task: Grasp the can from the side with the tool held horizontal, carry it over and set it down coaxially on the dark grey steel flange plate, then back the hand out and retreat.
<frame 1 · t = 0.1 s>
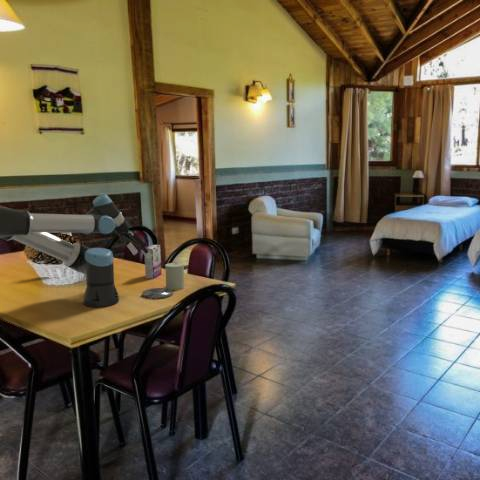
hand: (142, 255, 232), 15 cm above the table, tool tilted 35°, fingers open, 13 cm apart
can: (175, 288, 230), on the table
champagne flute: (69, 274, 258), on the table
flange plate: (157, 294, 218), on the table
candy bar box: (153, 276, 253), on the table
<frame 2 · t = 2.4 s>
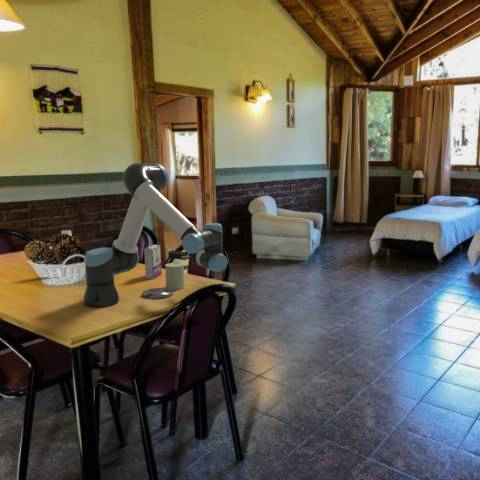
hand: (181, 250, 219), 20 cm above the table, tool horizontal, fingers open, 13 cm apart
nothing on the table moved.
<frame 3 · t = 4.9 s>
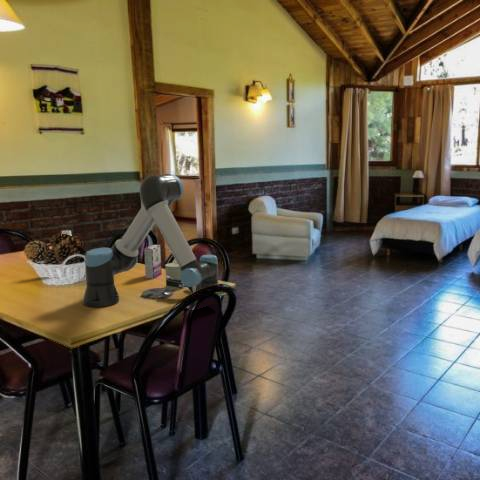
hand: (179, 276, 225), 6 cm above the table, tool horizontal, fingers open, 13 cm apart
nothing on the table moved.
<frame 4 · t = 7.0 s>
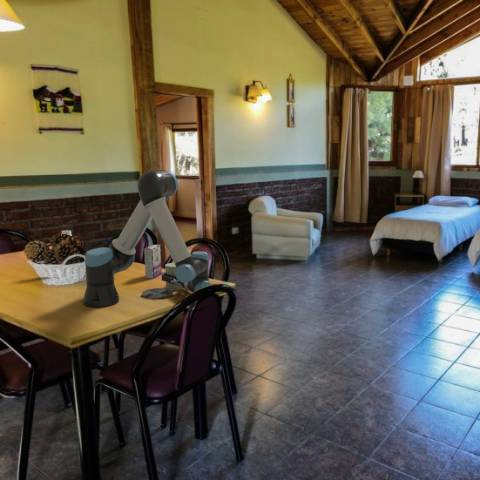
hand: (171, 272, 233), 7 cm above the table, tool horizontal, fingers closed on can, 9 cm apart
can: (175, 287, 230), on the table, touching gripper
everything else where it was.
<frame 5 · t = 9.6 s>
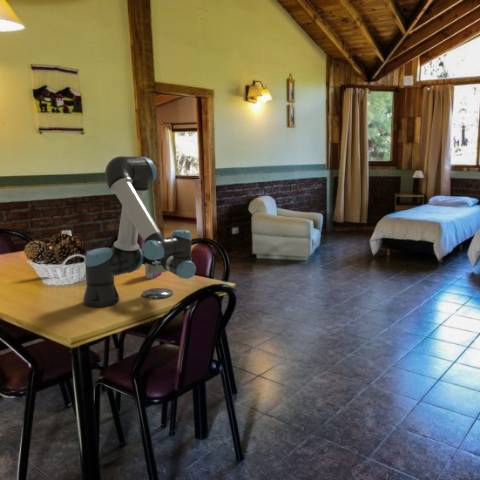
hand: (153, 255, 219), 18 cm above the table, tool horizontal, fingers closed on can, 9 cm apart
can: (157, 271, 216), point 11 cm above the table, touching gripper
everything else where it was.
when the fingers open (9 cm above the table, at t = 12.3 s): can drops 2 cm, resting on flange plate.
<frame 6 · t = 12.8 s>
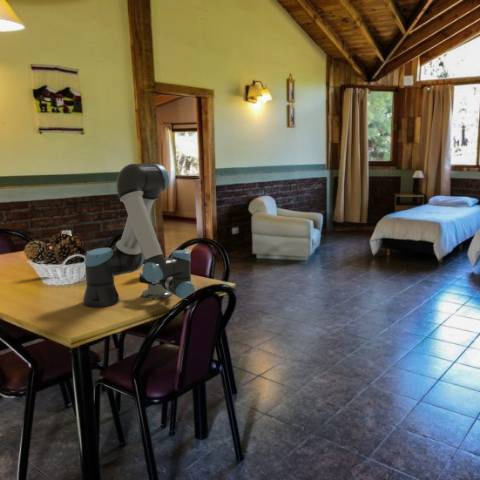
hand: (154, 273, 219), 10 cm above the table, tool horizontal, fingers open, 13 cm apart
can: (157, 292, 217), point 1 cm above the table, touching flange plate
everything else where it was.
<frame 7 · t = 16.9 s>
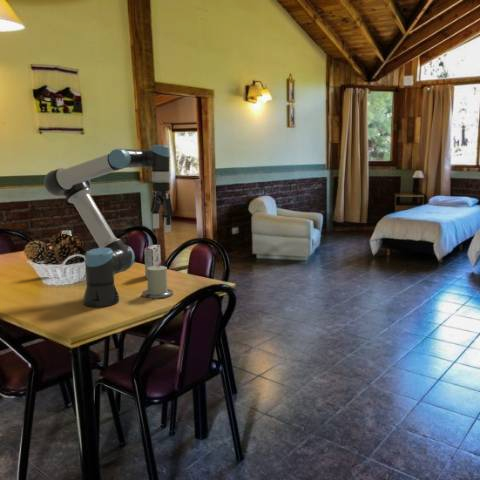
hand: (161, 230, 205), 31 cm above the table, tool pointing down, fingers open, 13 cm apart
nothing on the table moved.
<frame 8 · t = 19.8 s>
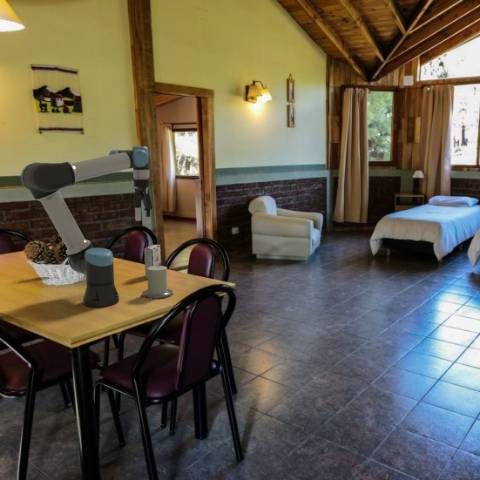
hand: (143, 222, 231), 32 cm above the table, tool pointing down, fingers open, 13 cm apart
nothing on the table moved.
at the end: can 0.1 cm from the flange plate (horizontally); can tilted 0°; can touching flange plate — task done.
